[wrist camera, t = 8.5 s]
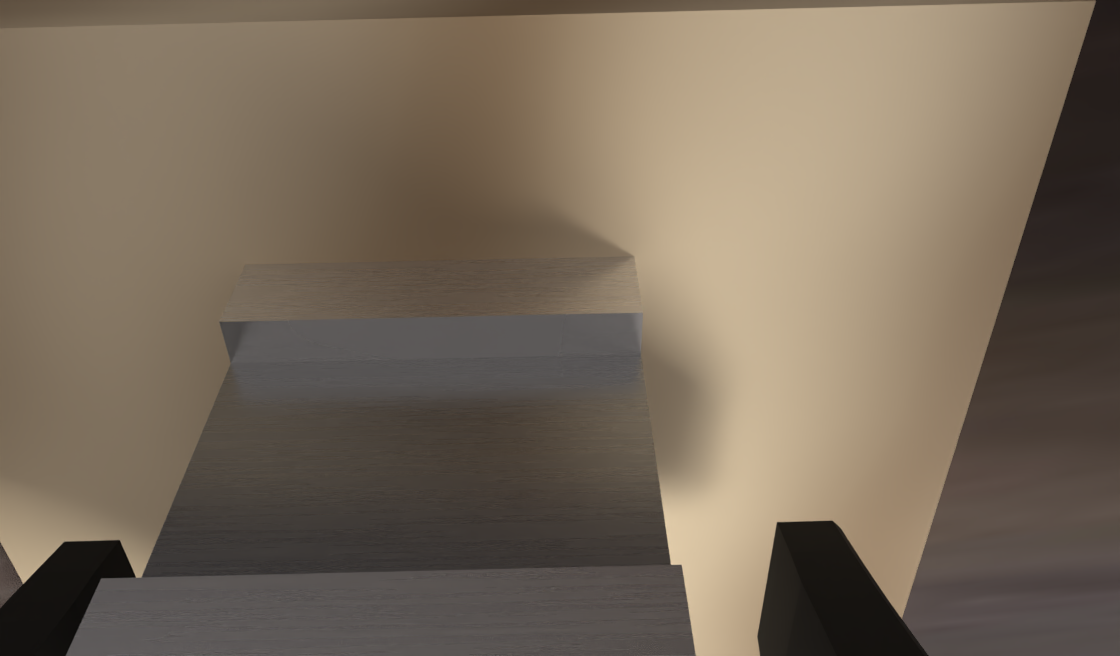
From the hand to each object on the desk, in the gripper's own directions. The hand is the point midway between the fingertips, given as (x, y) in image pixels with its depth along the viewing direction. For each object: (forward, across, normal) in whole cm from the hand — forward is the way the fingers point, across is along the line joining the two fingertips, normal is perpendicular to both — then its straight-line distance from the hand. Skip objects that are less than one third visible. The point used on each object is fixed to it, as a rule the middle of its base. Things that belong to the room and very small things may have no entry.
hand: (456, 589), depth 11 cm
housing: (+1, 0, 0) cm, 1 cm away
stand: (+3, 0, 0) cm, 3 cm away
